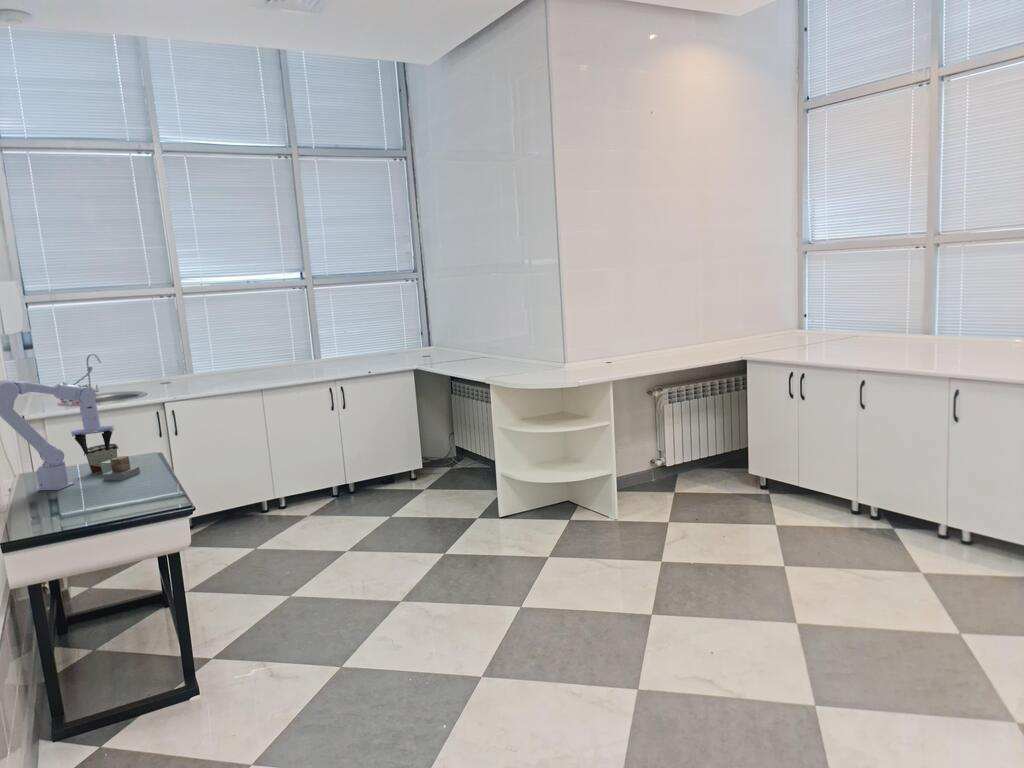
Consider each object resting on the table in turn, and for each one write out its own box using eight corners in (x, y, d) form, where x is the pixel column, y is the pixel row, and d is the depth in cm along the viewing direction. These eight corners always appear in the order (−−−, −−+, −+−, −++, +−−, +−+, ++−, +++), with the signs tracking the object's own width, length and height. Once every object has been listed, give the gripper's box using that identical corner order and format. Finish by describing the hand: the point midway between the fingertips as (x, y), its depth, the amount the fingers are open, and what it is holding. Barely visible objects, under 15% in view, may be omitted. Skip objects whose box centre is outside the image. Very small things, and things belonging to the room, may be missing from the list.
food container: (118, 465, 298) (114, 441, 297) (122, 467, 294) (117, 443, 292) (85, 472, 291) (80, 448, 289) (88, 475, 286) (83, 450, 284)
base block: (103, 481, 276) (102, 474, 275) (120, 474, 284) (119, 467, 284) (124, 481, 274) (122, 473, 273) (140, 474, 283) (139, 466, 282)
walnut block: (112, 472, 277) (110, 459, 276) (120, 469, 281) (117, 456, 280) (122, 471, 276) (120, 459, 275) (130, 468, 281) (128, 456, 280)
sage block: (102, 475, 284) (100, 463, 283) (110, 471, 288) (108, 459, 288) (112, 475, 283) (110, 462, 282) (120, 471, 287) (118, 459, 287)
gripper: (65, 422, 272) (72, 456, 274) (107, 417, 275) (114, 451, 277) (72, 418, 278) (79, 452, 281) (113, 413, 282) (119, 446, 284)
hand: (97, 451), depth 279 cm, fingers open, 7 cm apart
